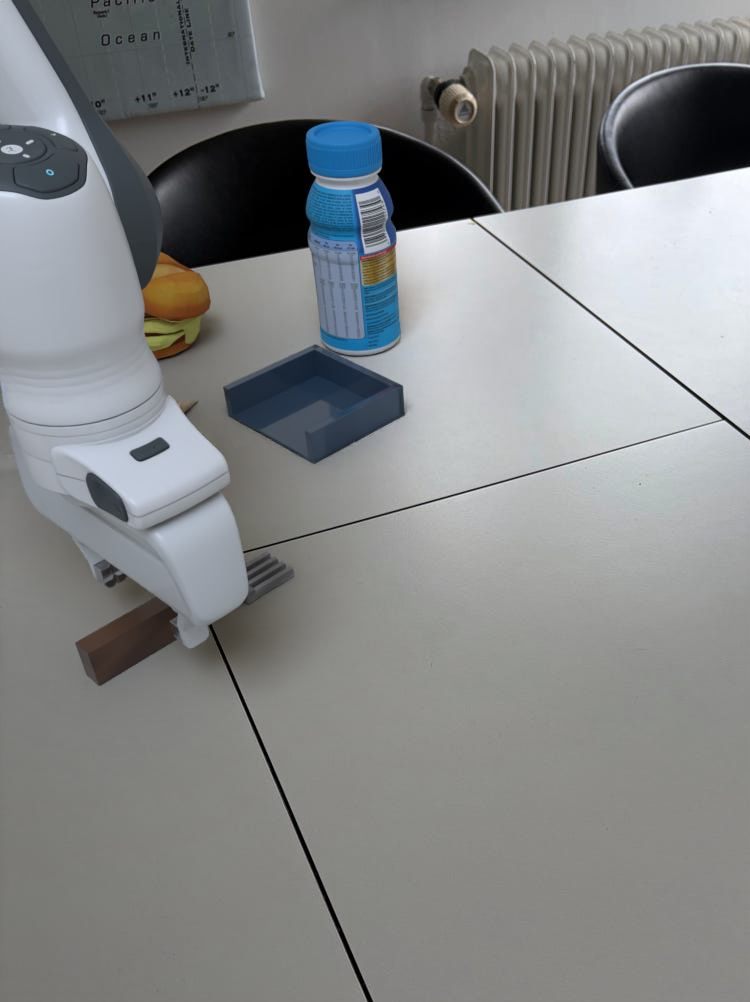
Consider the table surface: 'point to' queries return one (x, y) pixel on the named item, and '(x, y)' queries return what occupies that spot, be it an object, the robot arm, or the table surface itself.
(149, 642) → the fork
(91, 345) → the robot arm
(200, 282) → the cheeseburger
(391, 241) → the beverage bottle
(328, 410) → the tray
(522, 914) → the table surface
